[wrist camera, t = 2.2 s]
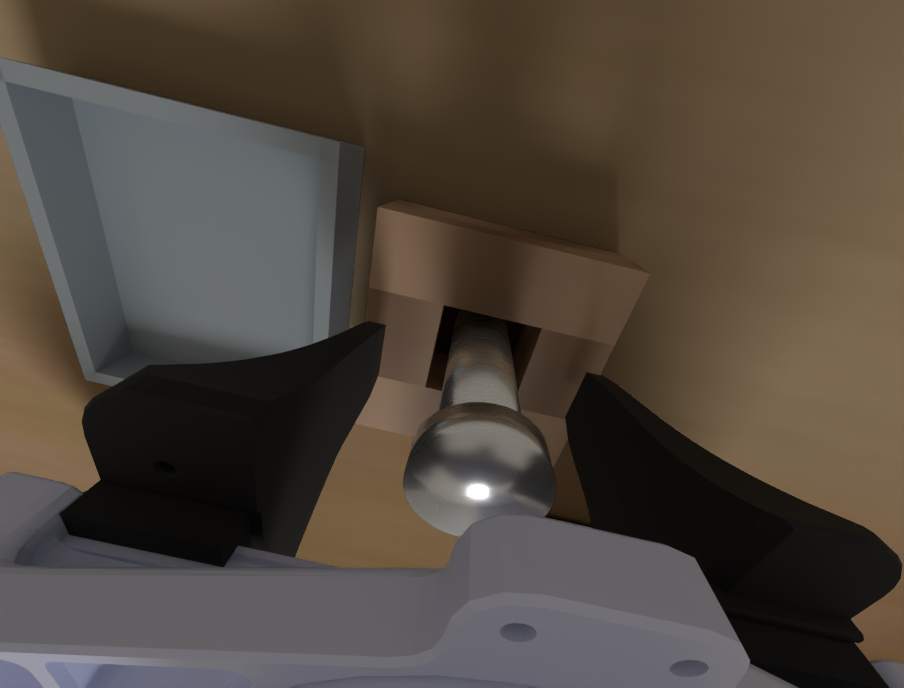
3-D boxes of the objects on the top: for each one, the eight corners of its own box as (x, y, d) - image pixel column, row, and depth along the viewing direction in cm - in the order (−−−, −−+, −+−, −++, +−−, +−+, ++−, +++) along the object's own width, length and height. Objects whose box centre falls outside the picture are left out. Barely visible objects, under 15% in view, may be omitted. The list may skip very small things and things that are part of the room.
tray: (364, 146, 13) (339, 142, 11) (342, 401, 18) (322, 433, 16) (66, 72, 12) (-24, 51, 10) (134, 354, 18) (85, 380, 16)
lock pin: (528, 301, 15) (580, 452, 7) (505, 366, 17) (527, 551, 9) (452, 283, 15) (417, 415, 7) (436, 350, 16) (393, 522, 8)
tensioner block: (618, 253, 14) (650, 273, 11) (542, 423, 18) (553, 468, 15) (398, 199, 14) (377, 206, 11) (372, 384, 18) (353, 423, 15)
